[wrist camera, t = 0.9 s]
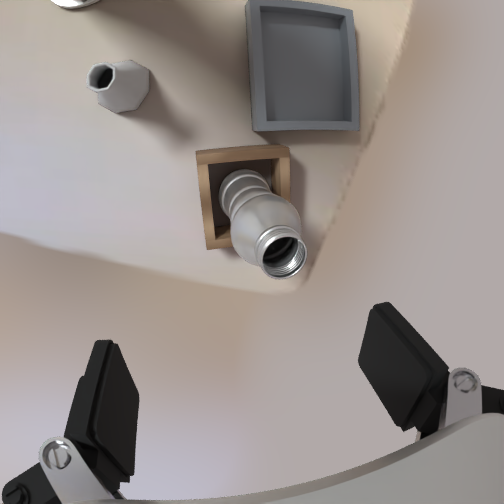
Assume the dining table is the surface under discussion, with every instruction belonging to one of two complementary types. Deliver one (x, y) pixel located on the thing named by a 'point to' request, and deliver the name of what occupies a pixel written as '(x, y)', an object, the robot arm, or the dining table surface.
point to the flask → (119, 84)
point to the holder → (275, 152)
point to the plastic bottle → (262, 224)
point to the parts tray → (302, 66)
